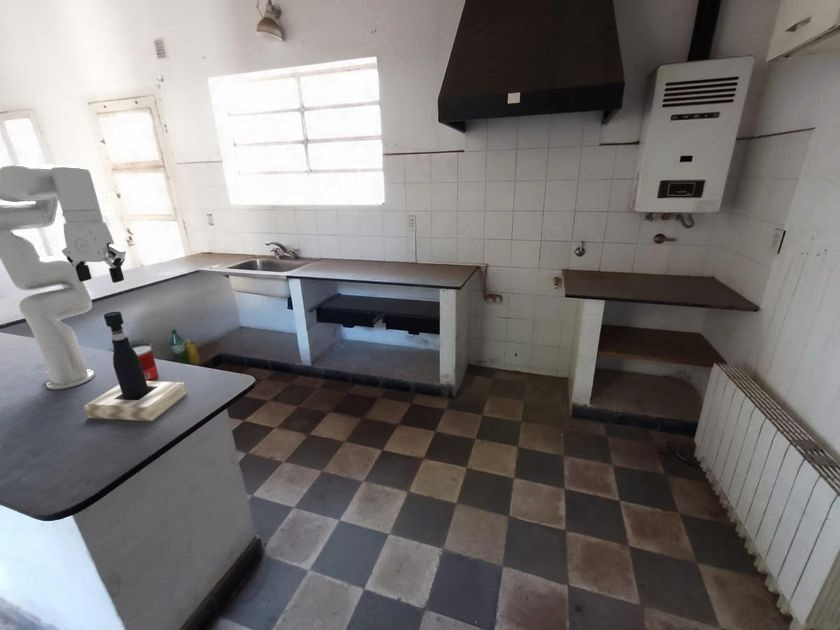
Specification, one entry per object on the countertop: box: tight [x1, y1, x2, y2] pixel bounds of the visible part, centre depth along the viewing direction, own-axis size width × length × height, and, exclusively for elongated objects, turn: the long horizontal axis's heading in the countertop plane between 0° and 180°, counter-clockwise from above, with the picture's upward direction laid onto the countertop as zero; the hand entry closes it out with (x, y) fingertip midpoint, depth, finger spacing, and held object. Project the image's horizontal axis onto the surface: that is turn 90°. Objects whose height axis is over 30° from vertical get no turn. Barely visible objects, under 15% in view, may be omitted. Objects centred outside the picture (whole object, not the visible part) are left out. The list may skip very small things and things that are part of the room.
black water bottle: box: [103, 311, 149, 400], centre depth 113 cm, size 6×6×30 cm
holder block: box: [84, 380, 188, 422], centre depth 117 cm, size 20×15×4 cm
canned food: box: [132, 345, 159, 381], centre depth 132 cm, size 8×8×11 cm
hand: (102, 280), depth 105 cm, fingers open, 9 cm apart
